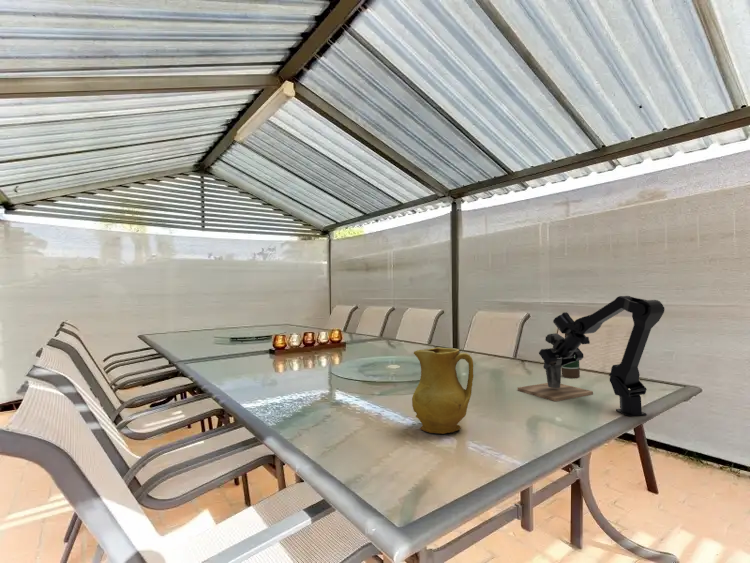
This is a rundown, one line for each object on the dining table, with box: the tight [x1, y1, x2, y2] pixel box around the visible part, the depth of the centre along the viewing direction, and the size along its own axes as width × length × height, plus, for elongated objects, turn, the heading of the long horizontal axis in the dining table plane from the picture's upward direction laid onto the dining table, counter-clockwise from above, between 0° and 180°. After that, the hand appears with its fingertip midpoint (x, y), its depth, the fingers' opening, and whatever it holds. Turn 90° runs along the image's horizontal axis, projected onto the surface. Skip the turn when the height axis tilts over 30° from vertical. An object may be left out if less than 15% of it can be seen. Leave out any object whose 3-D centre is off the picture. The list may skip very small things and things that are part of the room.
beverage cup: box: [543, 345, 562, 388], centre depth 170 cm, size 7×7×20 cm
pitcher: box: [411, 346, 474, 435], centre depth 131 cm, size 17×19×25 cm
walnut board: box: [517, 382, 594, 402], centre depth 170 cm, size 20×20×1 cm
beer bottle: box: [561, 333, 581, 379], centre depth 197 cm, size 8×8×24 cm
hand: (550, 367), depth 171 cm, fingers closed on beverage cup, 6 cm apart
